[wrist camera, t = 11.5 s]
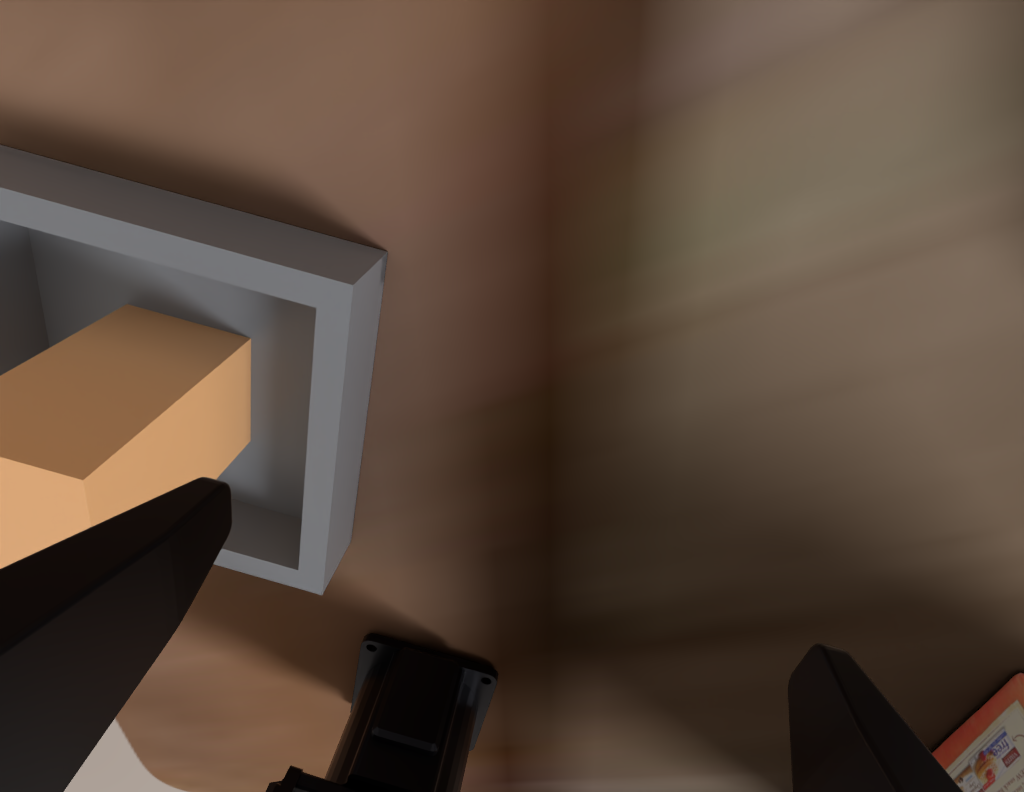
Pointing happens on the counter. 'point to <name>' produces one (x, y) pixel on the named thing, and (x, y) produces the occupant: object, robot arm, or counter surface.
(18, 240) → the block holder
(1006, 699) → the cracker box
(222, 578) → the counter surface
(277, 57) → the counter surface
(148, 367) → the plain tan block
